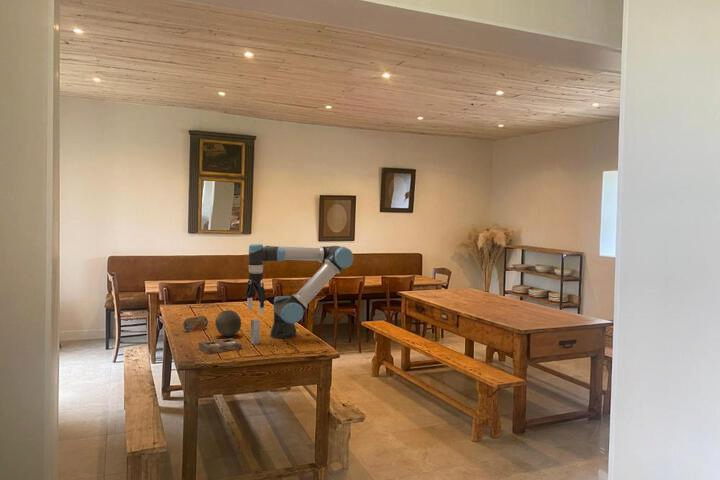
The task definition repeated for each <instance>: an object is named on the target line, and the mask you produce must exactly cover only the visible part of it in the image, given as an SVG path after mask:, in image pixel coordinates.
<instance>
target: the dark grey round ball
mask: <svg viewBox="0 0 720 480" xmlns="http://www.w3.org/2000/svg"><path fill="white" fill-rule="evenodd" d="M215 327H216V330H217V332H218V333H220V334H221V335H222V336H224V337H232V336H233V337H234V336H235V335H236V334H238V332H239V331H240V330H241V327H242V320H241V318H240V315H239V313H237V312H236V311H234V310H231V309H229V310H228V309H227V310H223V311H221V312H220V313H218V314H217V316H216V317H215Z"/></svg>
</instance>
